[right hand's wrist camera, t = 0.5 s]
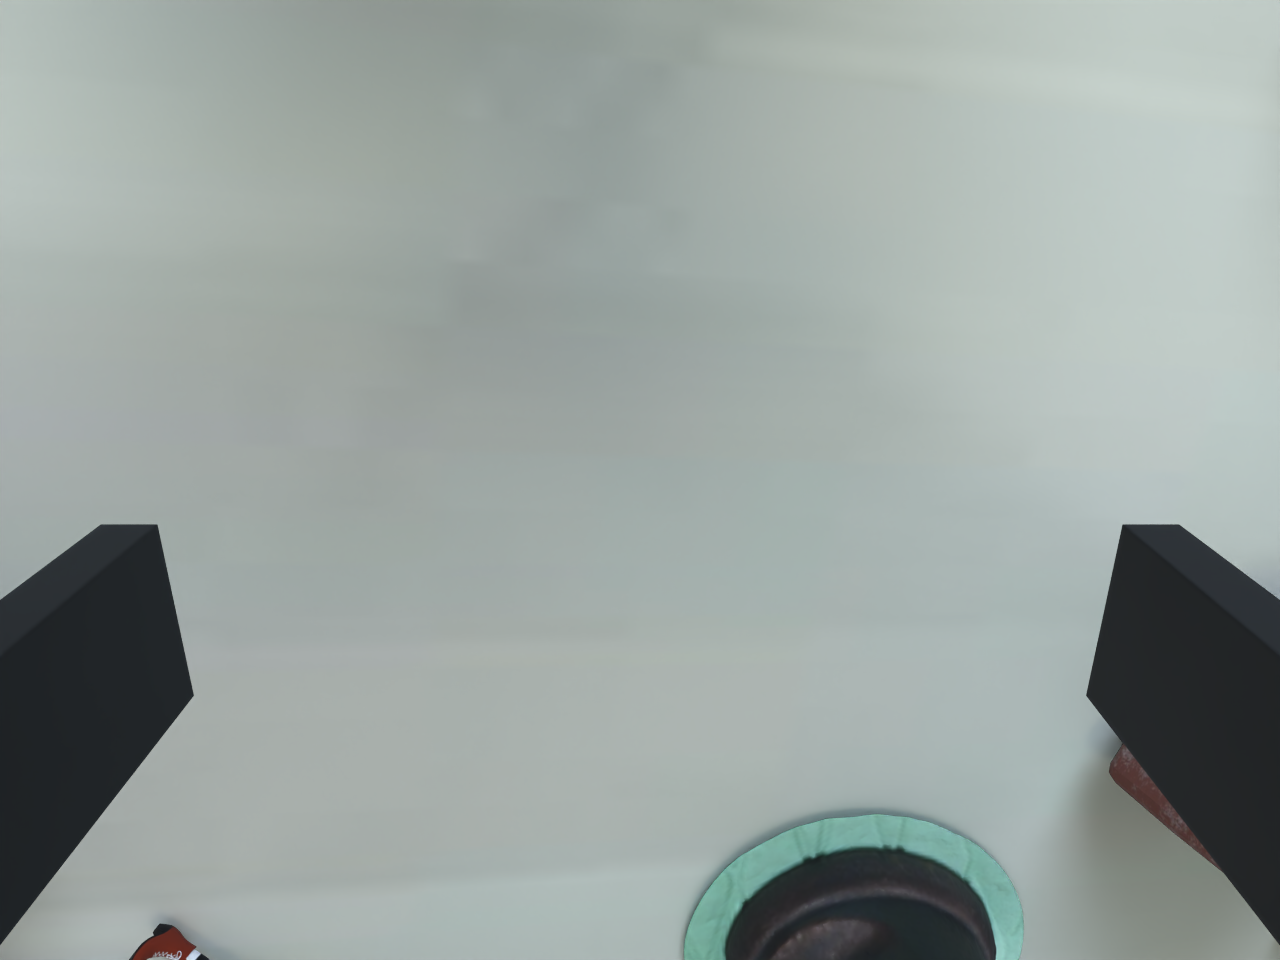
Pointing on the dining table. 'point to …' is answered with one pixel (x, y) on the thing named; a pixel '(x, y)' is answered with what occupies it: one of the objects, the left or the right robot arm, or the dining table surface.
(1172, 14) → the dining table surface
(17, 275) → the dining table surface
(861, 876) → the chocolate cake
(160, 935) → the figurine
